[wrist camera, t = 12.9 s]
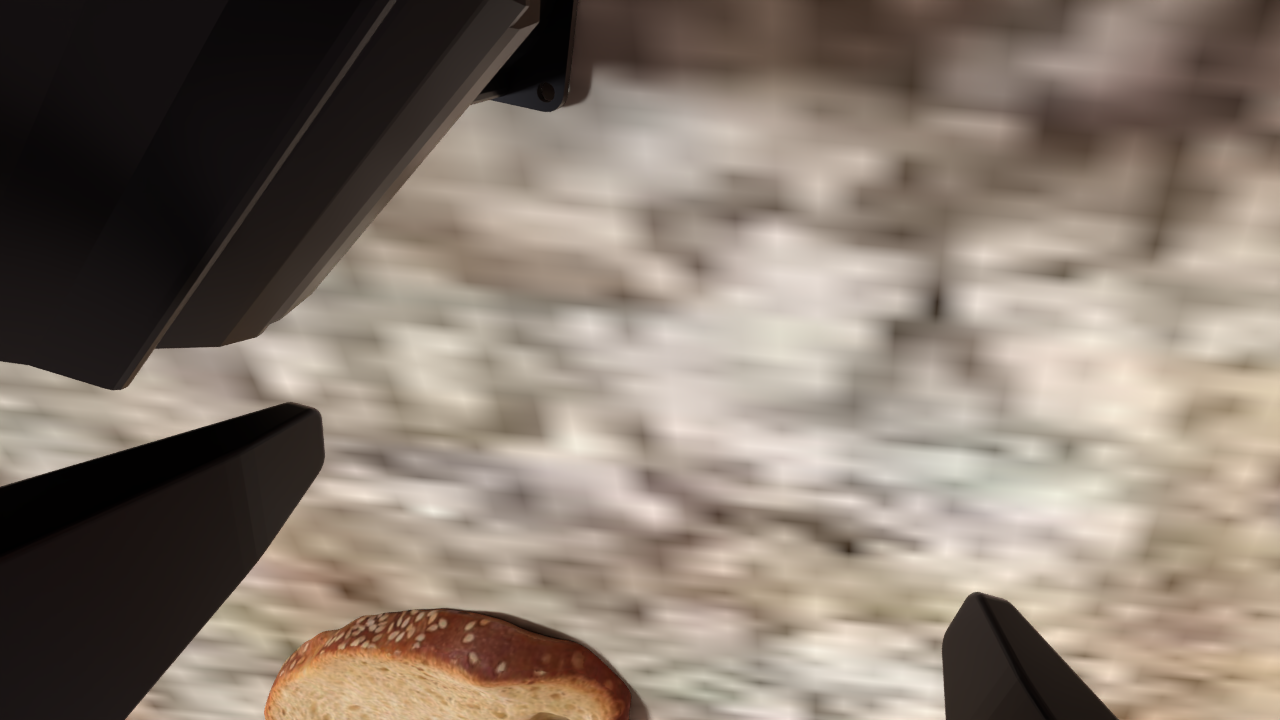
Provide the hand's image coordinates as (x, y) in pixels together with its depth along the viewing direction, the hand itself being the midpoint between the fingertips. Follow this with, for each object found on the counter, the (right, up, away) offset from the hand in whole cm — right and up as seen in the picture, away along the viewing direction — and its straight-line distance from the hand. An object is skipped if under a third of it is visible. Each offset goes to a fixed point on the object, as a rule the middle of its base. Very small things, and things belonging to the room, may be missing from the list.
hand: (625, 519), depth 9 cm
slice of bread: (-10, -16, +25) cm, 31 cm away
